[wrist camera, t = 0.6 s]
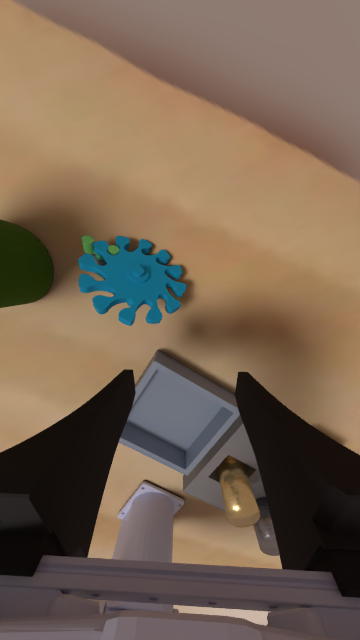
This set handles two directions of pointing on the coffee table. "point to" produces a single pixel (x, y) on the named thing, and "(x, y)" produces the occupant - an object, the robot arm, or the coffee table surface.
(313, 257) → the coffee table surface
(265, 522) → the lever
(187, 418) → the tray
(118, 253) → the blue spiky round piece
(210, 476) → the crank plate
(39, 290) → the wine bottle
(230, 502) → the pin
